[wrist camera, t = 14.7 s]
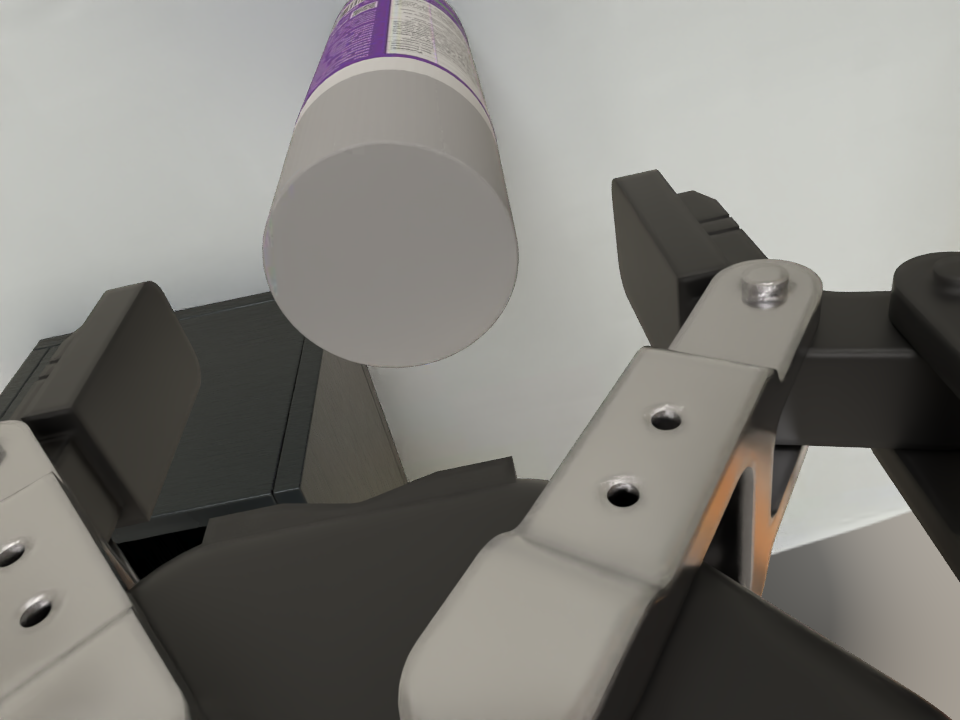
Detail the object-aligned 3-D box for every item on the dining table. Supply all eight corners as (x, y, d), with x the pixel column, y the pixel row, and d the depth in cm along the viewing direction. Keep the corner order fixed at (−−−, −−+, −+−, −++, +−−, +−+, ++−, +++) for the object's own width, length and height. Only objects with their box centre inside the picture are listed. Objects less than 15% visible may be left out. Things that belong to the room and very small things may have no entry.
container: (349, 134, 26) (300, 392, 14) (313, -8, 24) (212, 160, 11) (478, 112, 26) (538, 352, 14) (456, -34, 23) (509, 108, 11)
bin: (39, 339, 30) (-132, 572, 21) (335, 277, 30) (299, 487, 20) (196, 572, 39) (128, 809, 30) (424, 528, 39) (430, 755, 29)
